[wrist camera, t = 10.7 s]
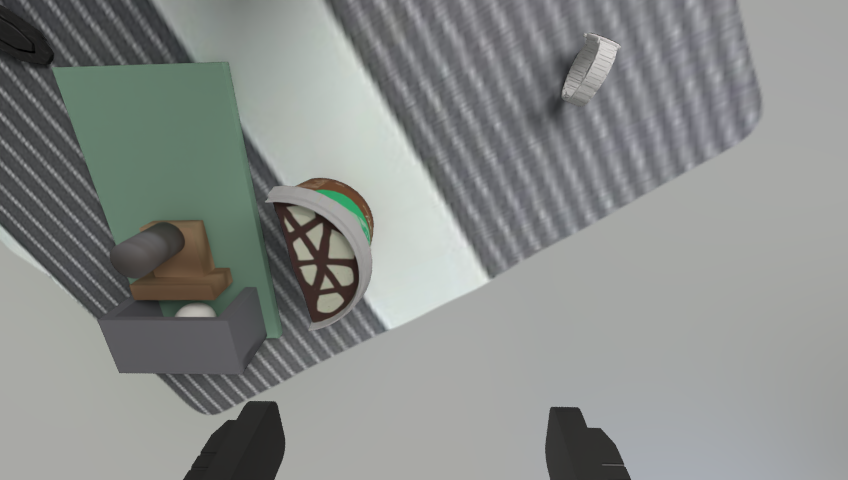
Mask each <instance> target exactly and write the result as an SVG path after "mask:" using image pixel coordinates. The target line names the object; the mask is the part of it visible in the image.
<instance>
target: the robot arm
mask: <svg viewBox="0 0 848 480" xmlns="http://www.w3.org/2000/svg"><path fill="white" fill-rule="evenodd" d="M284 451H285V436H284V431H283V427H282V423H281V418H280V414H279V410H278V405H277V403H276V402H274V401H273V402H272V401H249V402H248V403H247V404H246V405H245V406H244V408H243V410H242V411H241V413H240V415H239V416H238V418H237V420H228V421H226V422H225V423H224V424H223V425H222V426H221V427H220V428H219V429H218V430H216V431H215V432H214V433H213V434H212V435H211V437H210V438H209V440H208V441H207V443H206V444H205V446H204V448H203V449H202V451H201V454H200V456H198V457H197V459H196V460H195V462H194V463H193V465H192V468H191V470H189V471H188V473H187V474H186V476H185V478H184V479H183V480H274V479H275V477H276V474H277V472H278V469H279V467H280V464H281V462H282V459H283V456H284ZM545 453H546V462H547V468H548V472H549V476H550V480H631V479H630V476H629V474H628V472H627V469H626V467H624V463H623V460H622V458H621V456H620V454H619V451H618V449H617V447H616V445H615V444H614V443H613V441H612V440H611V439H610V438H609V437H608V436H607V435H606V434H605V433H604V432H603V430H602V429H601V428H587V425H586V423H585V420H584V418H583V415H582V413H581V411H580V409H579V408H578V407H551V408H550V413H549V420H548V429H547V436H546V445H545Z"/></svg>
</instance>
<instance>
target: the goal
mask: <svg viewBox="0 0 848 480" xmlns="http://www.w3.org/2000/svg"><path fill="white" fill-rule="evenodd" d="M98 323H99V325H100V328H101V330H102V332H103V335H104V337H105V340H106V342H107V345H108V347H109V349H110V352H111V354H112V357H113V359H114V361H115V364H116V366H117V369H118V371H119V373H163V374H242V373H243V372H244V370H245V369H246V367H247V366H248V364H249V363H250V361H251V360H252V358H253V357H254V355H255V354H256V352H257V351H258V349H259V348H260V346H261V345H262V343H263V342H264V340H265V339H266V337H267V332H266V328H265V323H264V319H263V314H262V309H261V305H260V300H259V296H258V291H257V287H245V288H244V289H243V290H242V291H241V292H240V293H239V295H238V296H237V297H236V298H235V299H234V300H233V301H232V302H231V303H230V305H229V306H228V307H227V308H226V309H225V310H224V311H223V312H222V313H221V314H220V316H219V317H164V316H163V313H162V310H161V307H160V304H159V301H158V300H134V298H133V295H131V296H130V297H128V298H127V299H126V300H124V301H123V302H122V303H120V304H119V305H118V306H116V307H115V308H113V309H112V310H111V311H109V312H108V313H107V314H105V315H104V316H102V317H101V318H100V319H98Z"/></svg>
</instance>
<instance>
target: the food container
mask: <svg viewBox="0 0 848 480" xmlns="http://www.w3.org/2000/svg"><path fill="white" fill-rule="evenodd" d="M267 202H273V204H274V207H275V211H276V213H277V215H278V218H279V220H280V224H281V227H282V230H283V233H284V237H285V240H286V244H287V248H288V252H289V256H290V260H291V264H292V267H293V270H294V272H295V275H296V277H297V280H298V282H299V284H300V287H301V289H302V292H303V294H304V297H305V301H306V304H307V307H308V310H309V313H310V316H311V319H312V322H311V325H310V327H309V330H308V331H312V330H317V329H320V328H323V327H326V326H328V325H330V324H332V323H334V322H336V321H338V320H340V319H341V318H342V317H344V316H345V315H346V314H348V313H349V311H350V310H351V309H352V308H353V307H354V306H355V305H356V304H357V303H358V301H359V300H360V299H361V298H362V296H363V295H364V293H365V291H366V290H367V287H368V285H369V282H370V278H371V273H372V255H371V249H370V245H371V241H372V237H373V227H374V223H373V217H372V213H371V210H370V208H369V206H368V204H367V203H366V201H365V200H364V199H363V197H362V196H361V195H360V194H359V193H358V192H357V191H355V190H354V189H353V188H351V187H350V186H348V185H346V184H344V183H342V182H339V181H337V180H332V179H327V178H314V179H310V180H308V181H306V182H303V183H301V184H299V185H297V186H275V187H273V189H272V190H271V191H270V193H269V194H268V199H267V200H266V201H265V203H267Z"/></svg>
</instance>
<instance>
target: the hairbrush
mask: <svg viewBox="0 0 848 480" xmlns="http://www.w3.org/2000/svg"><path fill="white" fill-rule="evenodd" d="M42 37H43V38H44V39H45V37H44V36H43V35H42V33H41V32H40V31H38V30H37V29H36V28H34V27H33V26H31V25H30V24H29V23H27V22H26V21H24V20H23V19H21V18H20V17H19V16H17V15H16V14H14V13H13V12H11V11H10V10H9V9H7V8H5V7H3V6H1V5H0V49H1V50H3V51H5V52H7V53H8V54H10V55H12V56H14V57H16V58H17V59H19V60H21V61H26V62H32V63H39V64H50V63H51V61H52V58H53V55H54V53H53V51H52V50H51V48H50V47H49V46H48V45H47V43H46V42H45V41H44V40H43V39H42ZM45 40H46V39H45ZM46 41H47V40H46ZM47 42H48V41H47ZM22 49H24V50H29V51H24V50H22ZM30 51H35V53H34V52H30Z"/></svg>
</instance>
